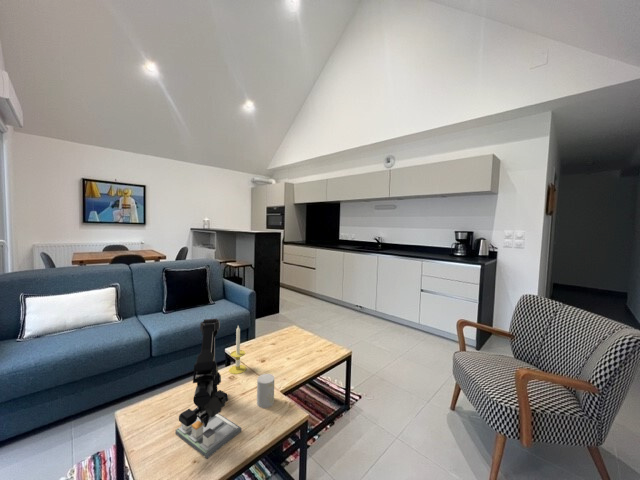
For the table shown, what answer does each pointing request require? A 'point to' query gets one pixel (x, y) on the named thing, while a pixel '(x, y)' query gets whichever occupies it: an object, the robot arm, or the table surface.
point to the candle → (237, 356)
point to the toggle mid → (197, 429)
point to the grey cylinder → (265, 390)
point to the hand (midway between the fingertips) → (205, 426)
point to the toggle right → (208, 437)
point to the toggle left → (185, 426)
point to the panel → (222, 434)
